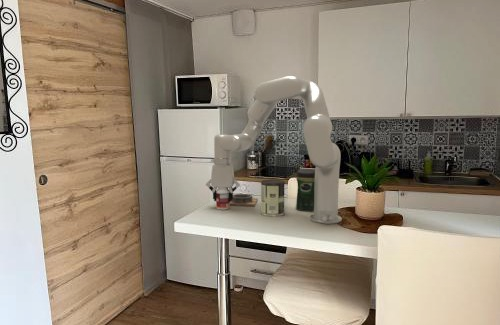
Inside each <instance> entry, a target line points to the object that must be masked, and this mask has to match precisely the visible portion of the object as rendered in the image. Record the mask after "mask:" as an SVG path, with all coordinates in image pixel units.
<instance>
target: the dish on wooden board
mask: <svg viewBox="0 0 500 325" xmlns="http://www.w3.org/2000/svg"><path fill="white" fill-rule="evenodd" d="M257 203H258V198H255V197H254V198H253V195H252V194H249V193H237V194H233V200H232V201H231V202H230V207H246V208H248V207H249V208H251V207H252V208H253V207H255V206H256V204H257Z"/></svg>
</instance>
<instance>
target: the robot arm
mask: <svg viewBox="0 0 500 325" xmlns="http://www.w3.org/2000/svg"><path fill="white" fill-rule="evenodd" d="M254 98H255V99H254V102H253V103H251V106H250V107H249V109H248V110H247V117H248V121H247V124H246V126H245V128H244V129H243V130H242V132H241V133H239V134H238V133H237V134H231V135H230V134H216V135H215V136H214V138H213V142H214V144H213V145H214V148H213V149H214V150H213V151H214V155H213V156H214V158H212V159H211V160H210V162H211V163H213V164H212V166H211V167H212V168H211V175H210V180H208V181H207V182H206V183H205V186H207V187H208V189H209V190H210V191H211V192H212V199H213V201H214V202H216V190H217V189H218V187H228V189H229V191H230V193H229V202H231V201H232V200H233V195H234V192H235V191H236V190H237V189H238V188H239V187H240V185H241V184H240V182H239V181H237V180H236V179H235V172H234V166H233V164H232V152H233V153H237V152H241V151H243V152H244V151H247V150H249V149H250V148H251V147H252V146H253V144H255V142H256V140H257V139H258V137H259V136H260V134H261V132H262V130H263V127H264V124H265V122H266V121H267V119H268V118H269V116H270V115H271V113H272V112H273V110H274V109H275V108H276V106H277V104H278V103H279V102H280V101H284V100H288V99H295V100H301V101H303V104H304V110H305V111H304V112H305V114H306V119H305V121H304V123H303V127H302V132H303V136H304V137H303V138H304V140H305V146H306V149H307V153H308V157H309V160H310V162H311V164H312V165H313V166H315V185H314V211H313V213H312V214H311V215H309V220H310V221H312V222H314V223H318V224H325V225H326V224H329V225H330V224H331V225H332V224H338V223H340V222H342V220H343V218H342V217H341V216H340V215H339V213H338V212H339V185H340V184H339V183H340V169H341V168H340V166H341V154H342V153H341V150H340V148H339V146H338V145H337V144H336V143H334V142H332V139H331V134H332V132H333V124H332V120H331V117H330V114H329V113H330V112H329V109H328V106H327V101H326V99H325V95H324V92H323V91H322V88H321V87H320V86H319V85H318V84H317V83H316V82H315V81H312V80H309V79H306V78H302V77H299V76H295V75H289V76H288V75H287V76H283V77H279V78H276V79H271V80H267V81H264V82H261V83H259V84H258V85H257V86H256V88H255V90H254ZM233 186H234V187H233Z"/></svg>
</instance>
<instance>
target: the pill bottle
mask: <svg viewBox="0 0 500 325" xmlns="http://www.w3.org/2000/svg"><path fill="white" fill-rule="evenodd" d="M229 193H230V191H229V188H228V187H217V189H216V201H215V202H216V203H215V205H216V206H215V207H216V210H220V211H222V210H224V211H225V210H229V209H230V207H231V206H230V202H229Z"/></svg>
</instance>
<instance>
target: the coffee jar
mask: <svg viewBox="0 0 500 325" xmlns="http://www.w3.org/2000/svg"><path fill="white" fill-rule="evenodd" d="M295 176H296V178H295V179H296V181H297V191H296V192H297V195H296V201H295V202H296V203H295V208H296V210H298V211H301V212H302V211H305V212H314V185H315V169H313V168H299V169H297V171H296V175H295Z"/></svg>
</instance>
